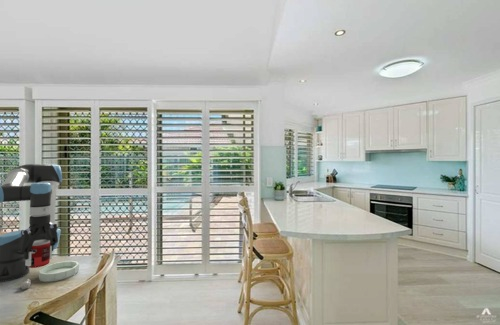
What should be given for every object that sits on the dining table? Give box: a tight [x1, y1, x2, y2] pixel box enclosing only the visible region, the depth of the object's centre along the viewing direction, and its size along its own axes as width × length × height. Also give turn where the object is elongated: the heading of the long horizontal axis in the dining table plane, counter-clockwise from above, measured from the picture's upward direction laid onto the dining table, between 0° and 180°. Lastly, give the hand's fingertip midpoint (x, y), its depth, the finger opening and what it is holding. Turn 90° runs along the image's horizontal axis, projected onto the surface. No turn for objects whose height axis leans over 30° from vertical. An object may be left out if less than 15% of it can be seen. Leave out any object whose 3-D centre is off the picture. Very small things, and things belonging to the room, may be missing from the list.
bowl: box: [38, 260, 80, 283], centre depth 131 cm, size 17×17×4 cm
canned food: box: [28, 239, 51, 269], centre depth 113 cm, size 8×8×11 cm
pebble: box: [20, 281, 32, 290], centre depth 116 cm, size 4×4×4 cm
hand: (38, 262), depth 113 cm, fingers closed on canned food, 8 cm apart
